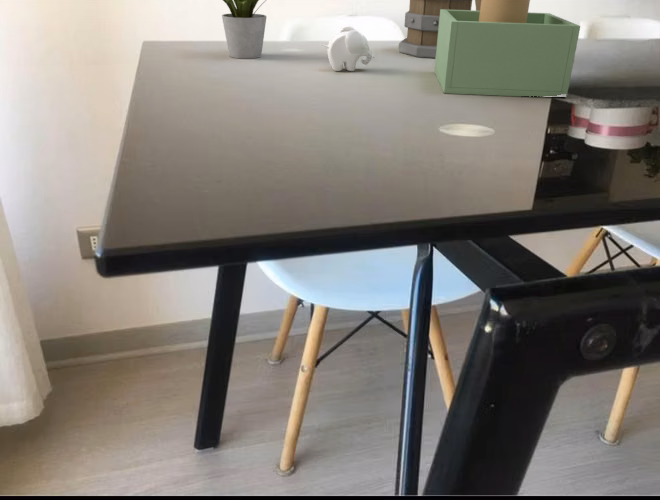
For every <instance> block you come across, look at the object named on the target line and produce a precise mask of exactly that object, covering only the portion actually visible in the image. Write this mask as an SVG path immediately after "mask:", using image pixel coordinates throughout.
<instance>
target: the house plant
mask: <svg viewBox="0 0 660 500" xmlns="http://www.w3.org/2000/svg"><path fill="white" fill-rule="evenodd" d="M222 1H223V2H224V3H225V4H226V6H227V8H228V9H229V11H230V13H224V14H221V19H222V24H223V29H224V34H225V39H226V45H227V49H228V50H227V51H228V54H229V55H228V56H229V57H230V58H234V59H257V58H261V57H262V53H263V46H264V39H265V31H266V24H267V15H265V14H262V13H261V14H260V13H257V11H258V9H260V7H257V8H256V6H257V4H258V2H259V1H260V0H222ZM266 1H267V0H264V1H263V2H262V3H261V4H260V6H262V5H263V4H264V3H266ZM255 8H256V10H255ZM254 10H255V11H254Z"/></svg>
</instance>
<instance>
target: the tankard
mask: <svg viewBox="0 0 660 500" xmlns="http://www.w3.org/2000/svg"><path fill="white" fill-rule="evenodd" d="M474 3H475V11H480V7H481V0H474ZM472 5H473V0H409V7H408V8H409V9H408V11H406V12H405V15H404V28H407V32H406V33H407V34H406V37H405V38H403V39H402V40H401V41H400V42H399V43H398V52H399V53H400V54H404V55H408V56H411V57H416V58H426V59H436V49H437V39H438V29H439V18H440V9H445V10H472V7H473V6H472Z"/></svg>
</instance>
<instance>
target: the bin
mask: <svg viewBox="0 0 660 500" xmlns="http://www.w3.org/2000/svg"><path fill="white" fill-rule="evenodd" d="M479 15H480V11H476V10H473V9H471V10H445V9H440V18H439V29H438V39H437V49H436V58H434V59H435V60H434V61H435V62H434V74H435V76H436V78H437V81H438V82H439V83H438V84H439V86H440V88H441V90H442V92H443V94H451V95H453V94H454V95H473V96H474V95H477V96H479V95H480V96H496V97H497V96H499V97H500V96H501V97H502V96H503V97H521V96H529V97H528V98H535V97H534V96H537V97H536V98H542V97H541V96H557V95H561V94H567V95H568V92H569V88H570V82H571V77H572V72H573V67H574V61H575V57H576V51H577V46H578V40H579V36H580V31H581V25H580V24H577V23H575V22H571V21H569V20H567V19H564V18H562V17H561V16H557V15H555V14H552V13H550V12H530V11H528V16H527V22H526V23H503V22H479ZM531 96H533V97H531ZM538 96H540V97H538Z"/></svg>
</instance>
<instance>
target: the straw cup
mask: <svg viewBox="0 0 660 500" xmlns="http://www.w3.org/2000/svg"><path fill="white" fill-rule="evenodd" d="M530 2H531V0H481V7H480V15H479V22H503V23H526V22H527V16H528V12H529V9H530Z"/></svg>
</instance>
